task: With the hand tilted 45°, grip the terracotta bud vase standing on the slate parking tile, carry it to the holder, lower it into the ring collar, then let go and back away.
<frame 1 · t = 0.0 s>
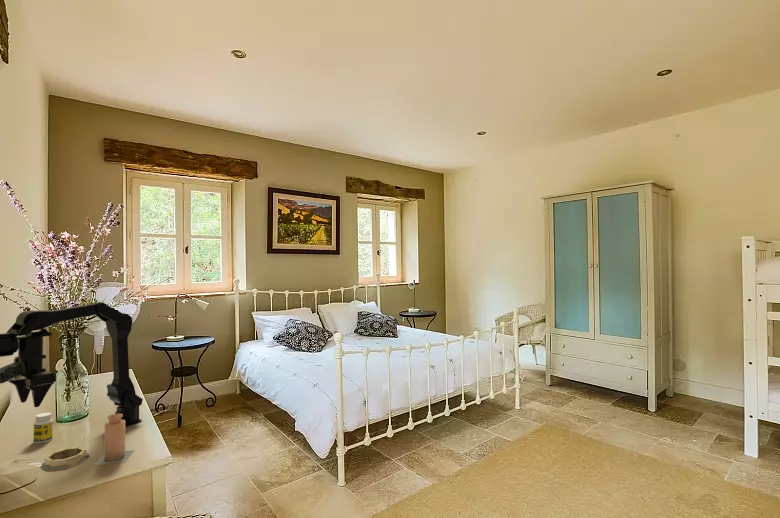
hand: (30, 404, 124), 15 cm above the table, tool pointing down, fingers open, 9 cm apart
vase: (114, 457, 120), point 1 cm above the table, touching parking tile
holder: (65, 463, 118), on the table
parking tile: (114, 459, 120), on the table
supplement bottle: (43, 441, 133), on the table
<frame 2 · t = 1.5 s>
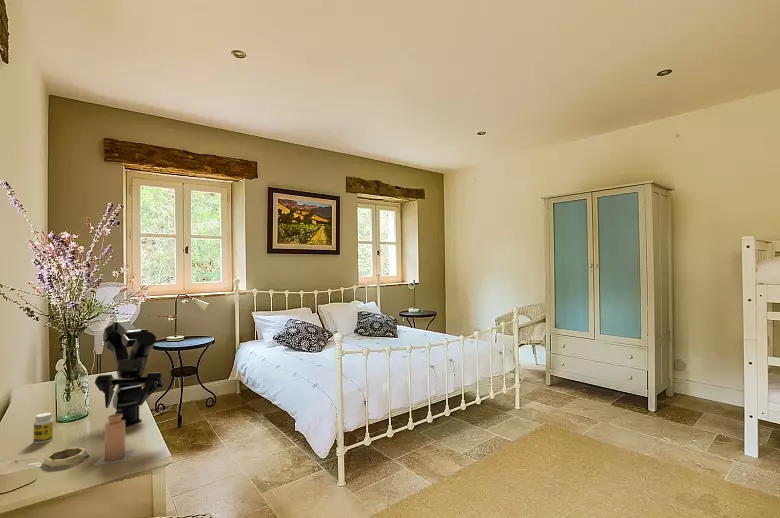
hand: (123, 406, 127), 13 cm above the table, tool tilted 45°, fingers open, 9 cm apart
nothing on the table moved.
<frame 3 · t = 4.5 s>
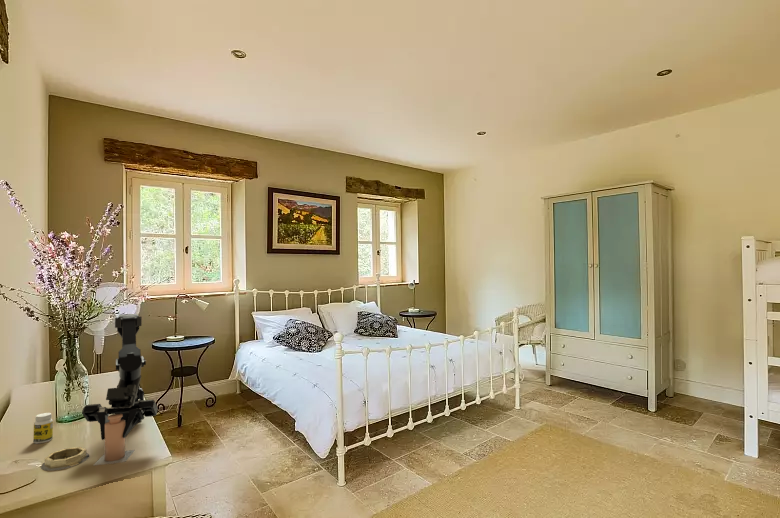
hand: (113, 438, 118), 7 cm above the table, tool tilted 45°, fingers closed on vase, 5 cm apart
vase: (114, 457, 120), point 1 cm above the table, touching gripper, parking tile
everything else where it was.
when the fingers open (7 cm above the table, at t = 8.3 s): vase stays where it is, resting on holder.
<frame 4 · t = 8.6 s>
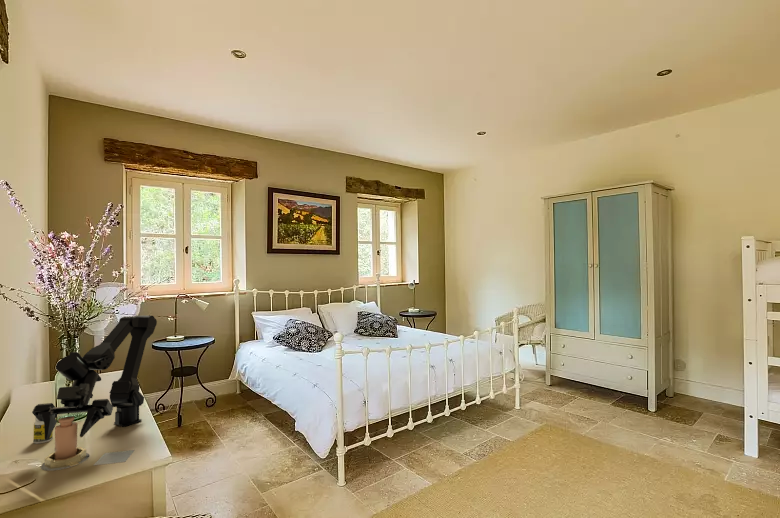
hand: (63, 438, 116), 8 cm above the table, tool tilted 45°, fingers open, 8 cm apart
vase: (66, 460, 118), point 1 cm above the table, touching holder
everything else where it was.
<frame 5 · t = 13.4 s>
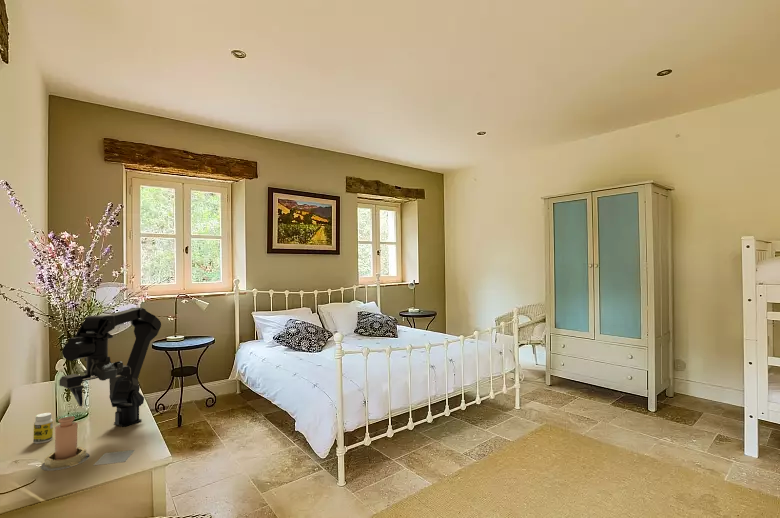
hand: (96, 402, 135), 12 cm above the table, tool pointing down, fingers open, 9 cm apart
nothing on the table moved.
at the end: vase 0.1 cm off-centre on the holder, point 0.6 cm above the holder's base; vase tilted 0°; the gripper is holding nothing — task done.
